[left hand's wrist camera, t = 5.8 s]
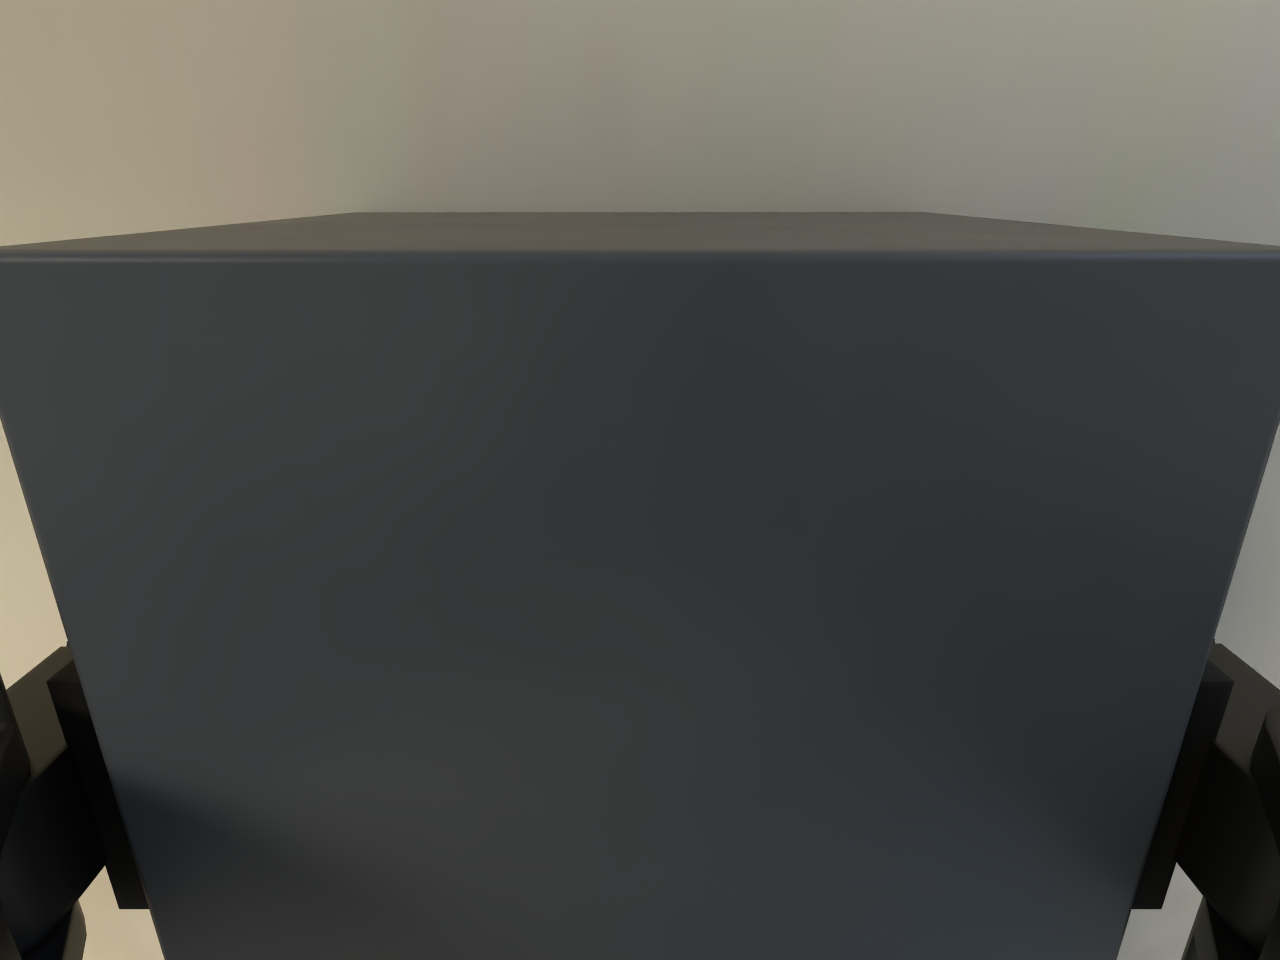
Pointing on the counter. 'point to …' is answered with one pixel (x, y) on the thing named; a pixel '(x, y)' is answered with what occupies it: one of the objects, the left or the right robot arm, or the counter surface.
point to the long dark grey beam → (640, 571)
